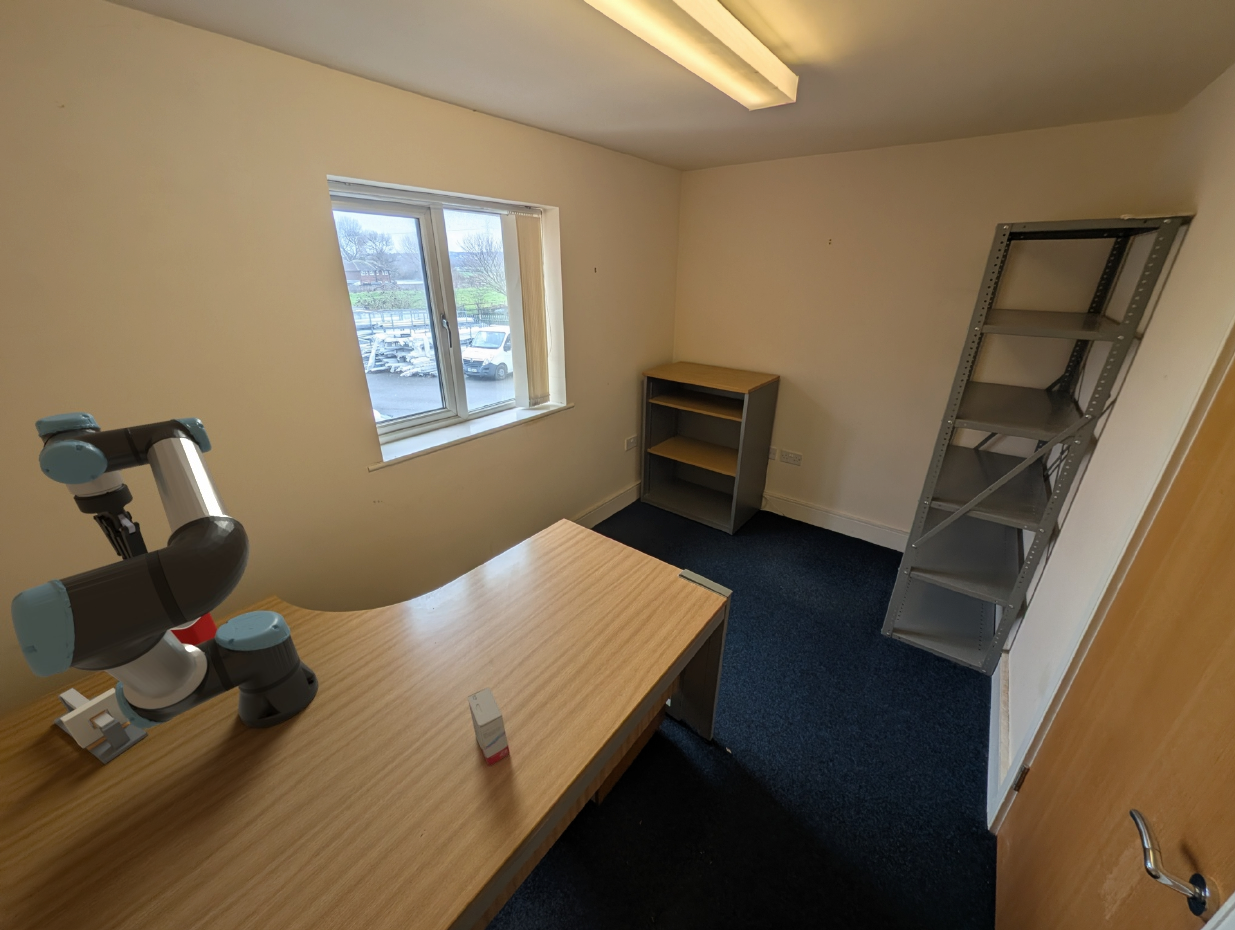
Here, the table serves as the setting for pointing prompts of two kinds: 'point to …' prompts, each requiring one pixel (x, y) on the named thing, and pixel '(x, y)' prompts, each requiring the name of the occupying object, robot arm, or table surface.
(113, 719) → the grey slide rail
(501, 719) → the ink box
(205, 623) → the mug
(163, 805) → the table surface
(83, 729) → the thick cream end plate
